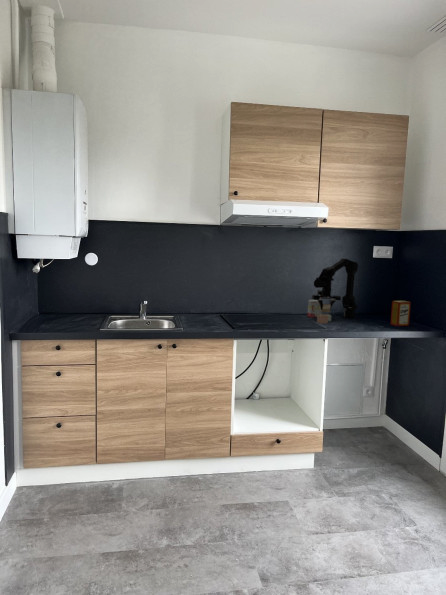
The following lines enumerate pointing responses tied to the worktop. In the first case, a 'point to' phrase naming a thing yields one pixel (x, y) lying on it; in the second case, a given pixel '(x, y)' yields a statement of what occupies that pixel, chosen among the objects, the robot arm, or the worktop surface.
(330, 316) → the sage block
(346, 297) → the robot arm
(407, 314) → the baking soda box
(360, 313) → the worktop surface
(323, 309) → the maple cube
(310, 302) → the ink box
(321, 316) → the terracotta cube
